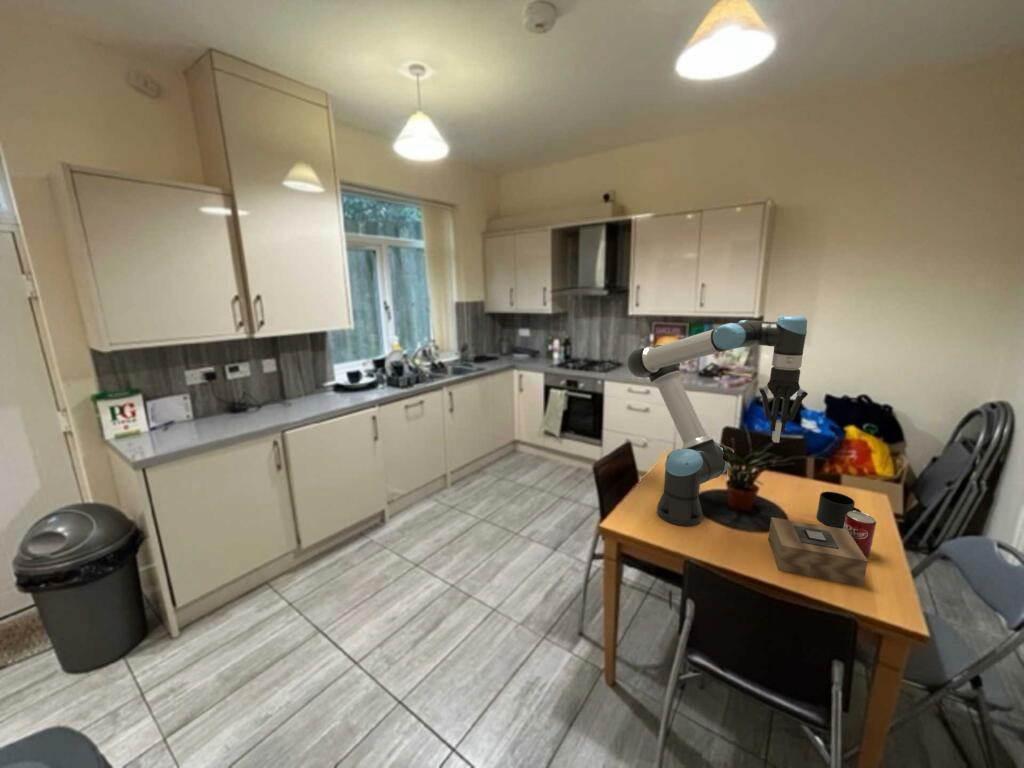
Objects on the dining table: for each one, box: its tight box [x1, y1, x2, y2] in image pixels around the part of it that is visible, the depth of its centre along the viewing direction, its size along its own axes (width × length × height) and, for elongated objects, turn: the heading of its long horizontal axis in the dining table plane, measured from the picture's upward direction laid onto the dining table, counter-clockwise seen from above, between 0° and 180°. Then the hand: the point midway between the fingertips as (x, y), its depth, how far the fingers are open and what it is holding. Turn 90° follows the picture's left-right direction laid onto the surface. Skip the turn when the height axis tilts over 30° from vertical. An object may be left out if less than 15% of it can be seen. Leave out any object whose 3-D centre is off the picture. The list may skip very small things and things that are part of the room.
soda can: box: [843, 510, 877, 558], centre depth 130 cm, size 7×7×12 cm
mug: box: [816, 491, 862, 529], centre depth 146 cm, size 9×12×9 cm
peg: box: [806, 530, 826, 542], centre depth 126 cm, size 4×4×8 cm
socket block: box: [767, 516, 869, 587], centre depth 126 cm, size 20×16×8 cm
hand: (775, 440), depth 134 cm, fingers closed
